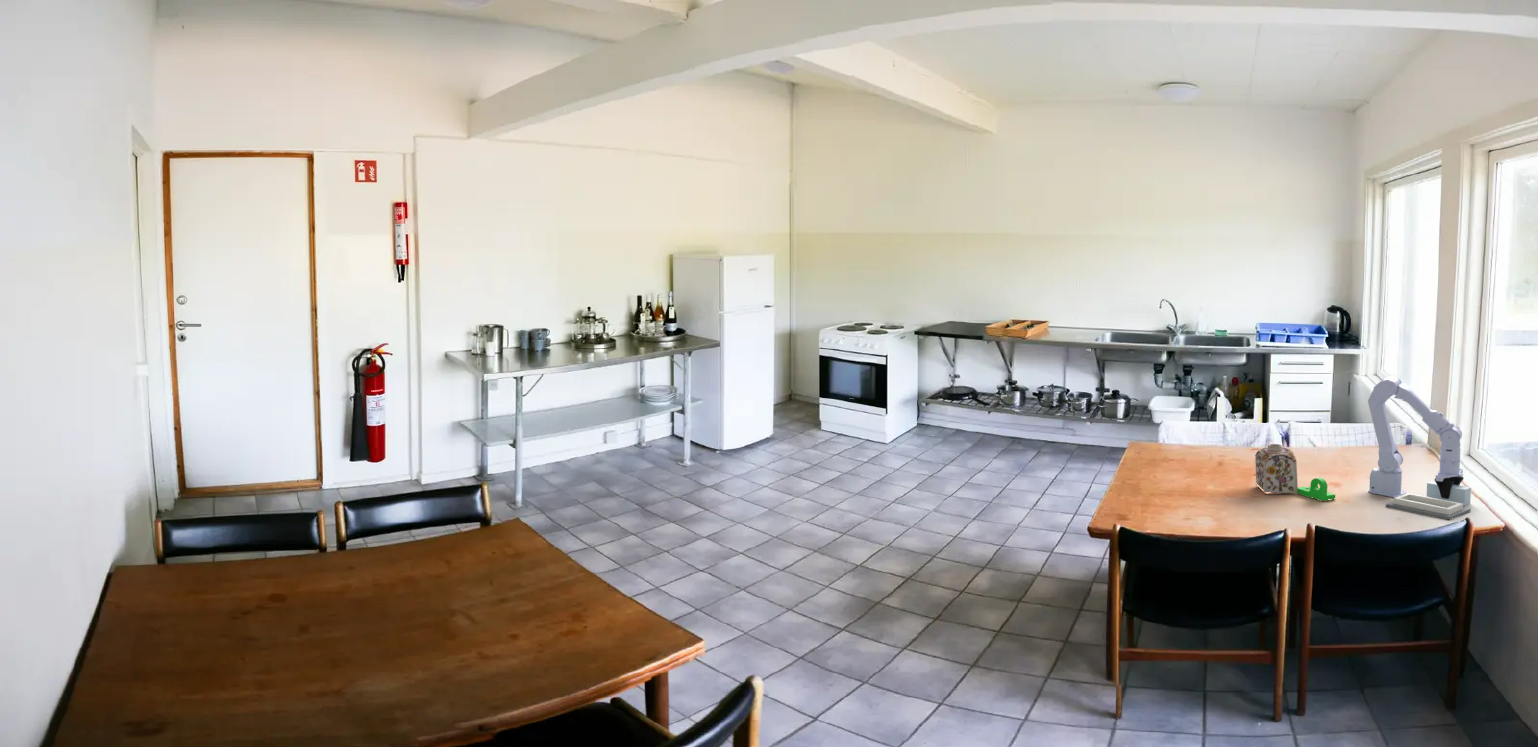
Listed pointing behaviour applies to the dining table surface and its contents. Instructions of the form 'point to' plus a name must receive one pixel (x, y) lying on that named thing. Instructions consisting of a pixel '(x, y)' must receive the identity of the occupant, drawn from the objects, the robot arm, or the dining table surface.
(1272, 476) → the decorative jar
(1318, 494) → the mechanical part
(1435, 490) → the block
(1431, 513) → the cradle jig
